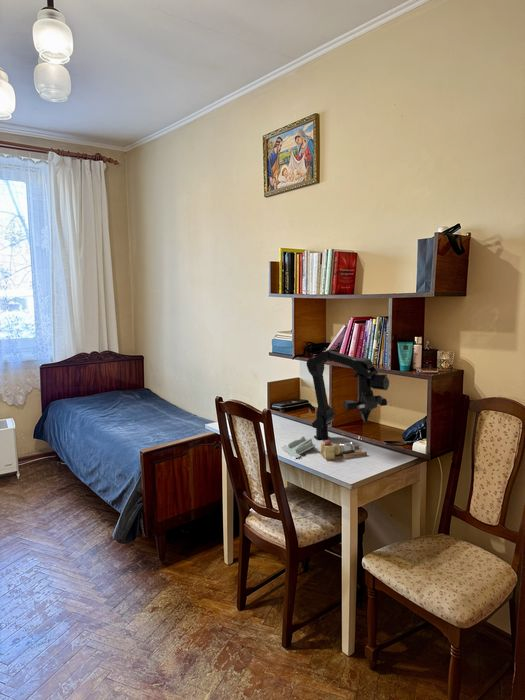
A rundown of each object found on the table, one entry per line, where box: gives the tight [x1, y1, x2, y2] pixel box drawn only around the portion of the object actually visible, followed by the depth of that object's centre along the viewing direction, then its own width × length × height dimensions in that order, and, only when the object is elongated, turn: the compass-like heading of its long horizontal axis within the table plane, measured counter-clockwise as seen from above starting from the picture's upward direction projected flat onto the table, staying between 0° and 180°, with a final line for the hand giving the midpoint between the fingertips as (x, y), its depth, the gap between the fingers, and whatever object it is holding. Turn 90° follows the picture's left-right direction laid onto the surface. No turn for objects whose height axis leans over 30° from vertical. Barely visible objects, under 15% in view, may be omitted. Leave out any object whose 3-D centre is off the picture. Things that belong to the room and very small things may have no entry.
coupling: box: [338, 441, 355, 455], centre depth 205 cm, size 5×6×5 cm
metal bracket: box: [280, 435, 317, 459], centre depth 213 cm, size 14×6×15 cm
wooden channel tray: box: [319, 439, 368, 463], centre depth 204 cm, size 10×18×7 cm, turn 103°
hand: (365, 421), depth 210 cm, fingers closed
